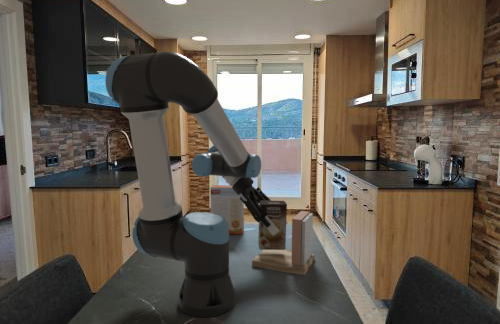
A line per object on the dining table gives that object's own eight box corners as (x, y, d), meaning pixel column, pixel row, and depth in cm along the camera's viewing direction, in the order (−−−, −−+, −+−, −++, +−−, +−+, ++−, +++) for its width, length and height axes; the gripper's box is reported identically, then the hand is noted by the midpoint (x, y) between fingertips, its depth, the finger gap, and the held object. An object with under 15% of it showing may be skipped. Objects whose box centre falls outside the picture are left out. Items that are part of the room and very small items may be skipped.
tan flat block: (300, 265, 108) (301, 219, 106) (291, 263, 109) (292, 218, 107) (308, 253, 118) (309, 211, 116) (300, 252, 119) (301, 210, 117)
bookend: (304, 267, 107) (305, 221, 106) (292, 265, 109) (292, 220, 107) (312, 255, 117) (312, 213, 116) (300, 253, 119) (301, 212, 117)
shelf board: (304, 275, 106) (304, 269, 106) (252, 266, 113) (252, 260, 113) (314, 259, 119) (314, 253, 119) (266, 251, 126) (266, 246, 126)
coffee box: (259, 250, 115) (260, 204, 113) (258, 243, 121) (258, 200, 119) (286, 250, 115) (287, 204, 113) (283, 243, 121) (284, 200, 120)
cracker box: (244, 230, 151) (244, 185, 149) (242, 235, 145) (242, 187, 143) (213, 229, 153) (213, 184, 150) (210, 234, 147) (210, 186, 144)
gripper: (244, 182, 132) (282, 227, 127) (218, 192, 112) (262, 245, 107) (257, 170, 129) (296, 215, 125) (232, 178, 109) (278, 231, 105)
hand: (280, 229), depth 116 cm, fingers closed on coffee box, 9 cm apart
